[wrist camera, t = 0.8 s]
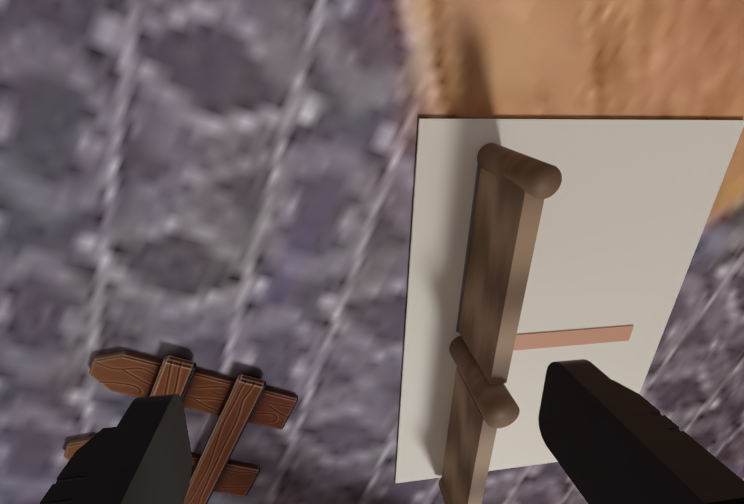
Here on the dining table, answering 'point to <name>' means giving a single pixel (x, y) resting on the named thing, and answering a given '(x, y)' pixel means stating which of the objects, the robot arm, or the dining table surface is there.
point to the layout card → (554, 261)
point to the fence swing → (466, 449)
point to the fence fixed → (499, 273)
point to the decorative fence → (203, 394)
